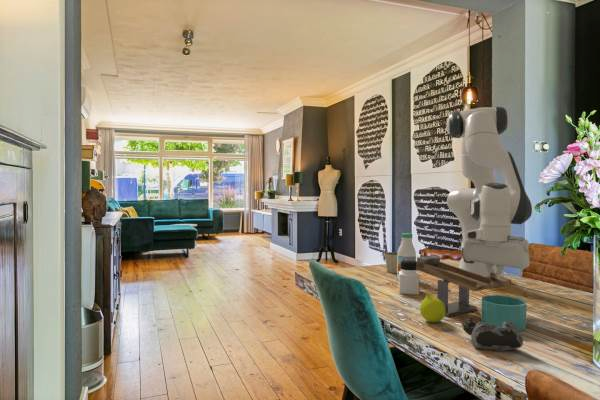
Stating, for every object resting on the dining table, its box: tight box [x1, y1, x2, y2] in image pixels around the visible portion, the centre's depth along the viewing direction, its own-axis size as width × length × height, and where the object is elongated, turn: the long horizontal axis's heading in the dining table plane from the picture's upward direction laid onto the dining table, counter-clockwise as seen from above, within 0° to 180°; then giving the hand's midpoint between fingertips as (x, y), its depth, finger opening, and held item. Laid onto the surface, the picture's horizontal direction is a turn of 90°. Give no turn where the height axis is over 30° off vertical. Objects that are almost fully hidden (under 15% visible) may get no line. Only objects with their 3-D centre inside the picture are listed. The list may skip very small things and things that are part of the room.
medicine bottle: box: [398, 260, 421, 295], centre depth 153 cm, size 7×7×12 cm
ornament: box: [419, 290, 446, 323], centre depth 118 cm, size 7×7×10 cm
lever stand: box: [436, 279, 478, 318], centre depth 129 cm, size 14×7×10 cm, turn 123°
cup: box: [480, 294, 527, 332], centre depth 116 cm, size 11×11×7 cm
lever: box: [416, 255, 512, 292], centre depth 133 cm, size 19×22×5 cm
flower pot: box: [383, 251, 398, 274], centre depth 191 cm, size 9×9×9 cm
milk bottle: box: [396, 232, 417, 282], centre depth 172 cm, size 8×8×20 cm
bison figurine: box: [461, 317, 524, 352], centre depth 100 cm, size 12×7×10 cm
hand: (494, 278), depth 128 cm, fingers closed
